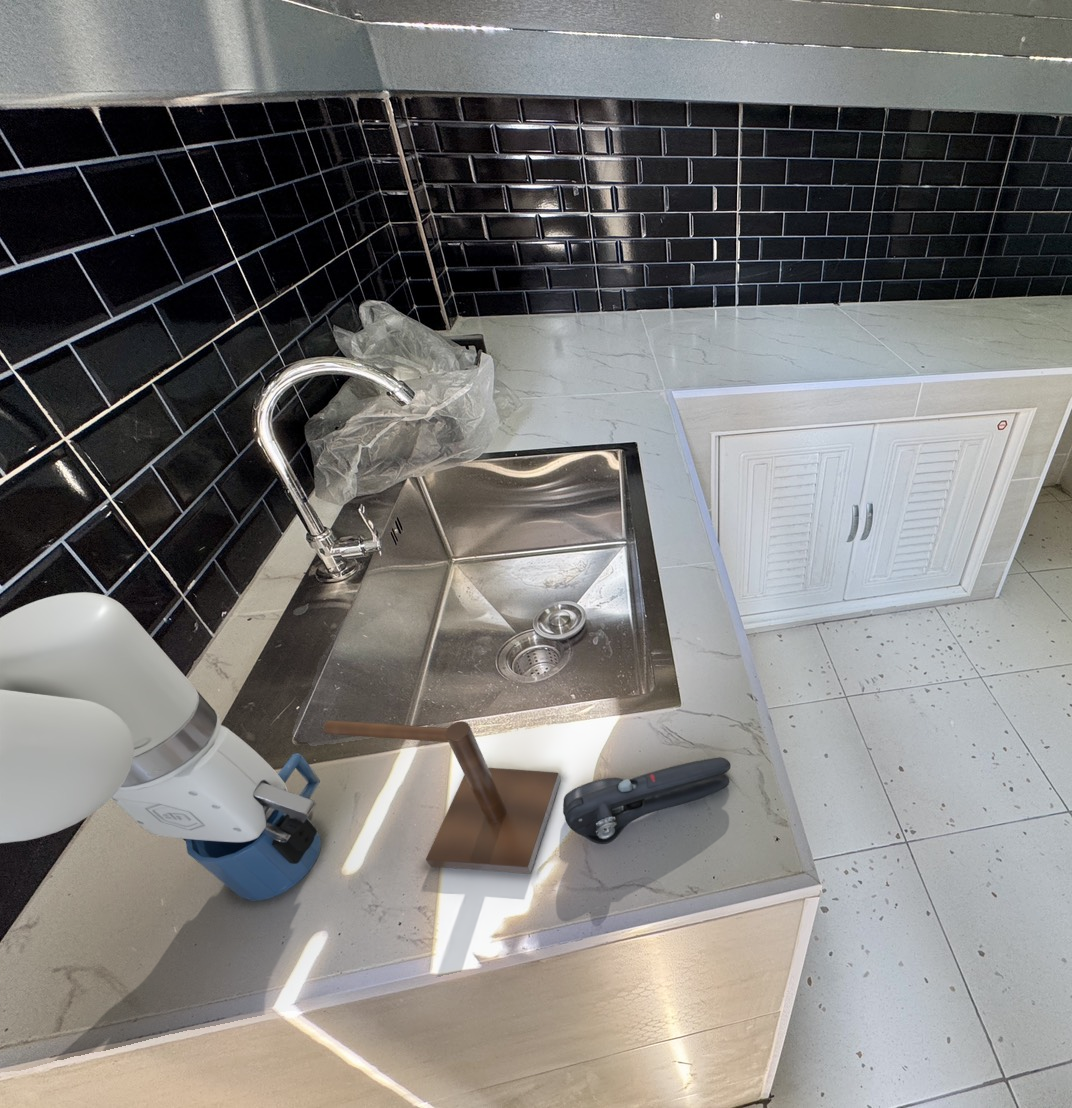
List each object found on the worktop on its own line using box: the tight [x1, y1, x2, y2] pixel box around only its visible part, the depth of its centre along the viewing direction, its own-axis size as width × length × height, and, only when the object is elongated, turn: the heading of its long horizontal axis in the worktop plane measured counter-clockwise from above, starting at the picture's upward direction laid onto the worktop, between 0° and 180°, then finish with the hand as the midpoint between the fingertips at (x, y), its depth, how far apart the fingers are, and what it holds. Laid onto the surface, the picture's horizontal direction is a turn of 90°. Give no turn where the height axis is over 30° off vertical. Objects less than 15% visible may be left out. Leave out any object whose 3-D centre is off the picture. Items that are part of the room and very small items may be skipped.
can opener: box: [562, 756, 732, 845], centre depth 62 cm, size 18×7×6 cm, turn 109°
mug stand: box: [322, 719, 561, 875], centre depth 58 cm, size 10×17×16 cm, turn 86°
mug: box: [185, 752, 322, 902], centre depth 58 cm, size 11×7×8 cm, turn 176°
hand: (262, 843), depth 57 cm, fingers closed on mug, 7 cm apart
